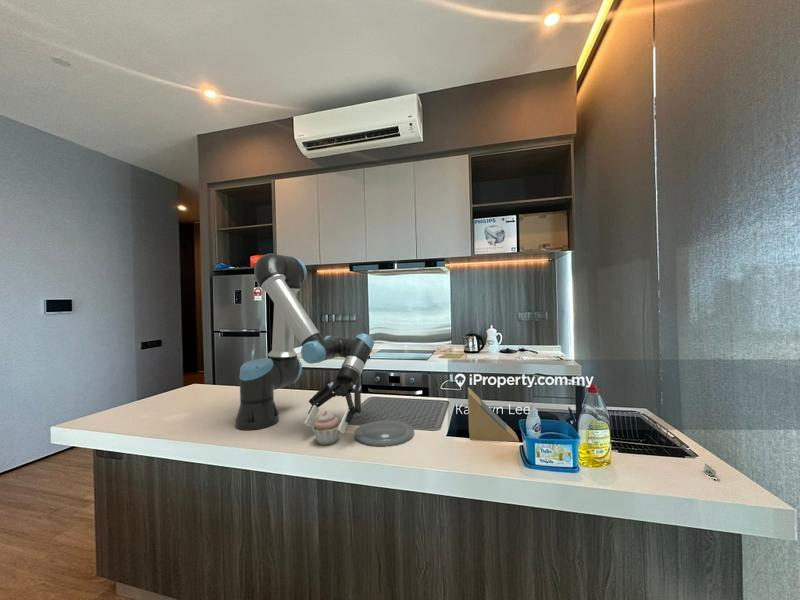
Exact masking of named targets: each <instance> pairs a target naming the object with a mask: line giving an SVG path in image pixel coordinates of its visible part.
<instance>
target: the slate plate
mask: <svg viewBox="0 0 800 600" xmlns="http://www.w3.org/2000/svg"><path fill="white" fill-rule="evenodd" d="M353 435H354V439H355V441H356V442H357V443H360V444H361V445H365V446H369V447H374V446H375V448H376V447H378V448H381V447H382V448H387V447H386V446H388V447H393V446H399V445H402V444H404V443H407V442H409V441H411V440H412V439H413V438H414V436H415V429H414V427H413V426H412V425H411V424H409V423H407V422H404V421H398V420H391V419H390V420H389V419H388V420H376V421H370V422H366V423H363V424H362V425H359V426H358V427H357V428H355V430H354V434H353Z"/></svg>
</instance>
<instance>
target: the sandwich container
mask: <svg viewBox="0 0 800 600" xmlns="http://www.w3.org/2000/svg"><path fill="white" fill-rule="evenodd" d="M467 404H468V405H467V407H468V409H467V410H468V433H469V440H470V441H484V442H485V441H489V442H512V443H513V442H518V443H519V442H520V439H519V437H518V435H517V433H516V432H515V431H514V430H513V429H512V428H511V427H510V426H509V425H508V424H507V423H506V421H503V420H502V418H501V417H500V416H499V415H497V413H495V411H493V409H492V408H491V407H489V406H488V405H487V404H486V403H485V402H484V400H483V399H481V398H480V397H479V396H478V395H477V394H476V393H475V392H474V391H473V390H472V389H471V388H470V387H467Z"/></svg>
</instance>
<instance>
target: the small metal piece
mask: <svg viewBox="0 0 800 600" xmlns="http://www.w3.org/2000/svg"><path fill="white" fill-rule="evenodd" d="M712 467H713V466H712V465H710V466H709V465H708V464H707V463H704V466H703V470H704V471H703V470H702V469H701V472H702V471H703V472H704V473H705V474H706V475H708V476H710V477H715V478H717V479H718V480H719V477H718V476H717V471H716V470H715V469H713V468H712ZM703 472H702V473H703Z"/></svg>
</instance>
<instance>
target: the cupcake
mask: <svg viewBox="0 0 800 600" xmlns="http://www.w3.org/2000/svg"><path fill="white" fill-rule="evenodd" d="M340 423H341V422H339V419H338V418H337V417H336V416H335V415H334V413H333V412H331V411H328V410H324V412H323V414H320V415H319V416H318V418H317V419H316V420H315V421H314V423H313V425H314V426H311V427H312V431H313V433H314V434H315V439H316V442H317V444H318V445H322V446H329V445H333V444H335V443H337V441H338V439H339V434H340V431H339V430H338V427H339V425H340Z"/></svg>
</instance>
